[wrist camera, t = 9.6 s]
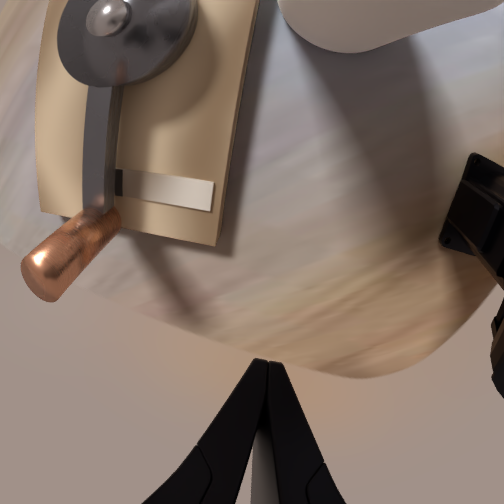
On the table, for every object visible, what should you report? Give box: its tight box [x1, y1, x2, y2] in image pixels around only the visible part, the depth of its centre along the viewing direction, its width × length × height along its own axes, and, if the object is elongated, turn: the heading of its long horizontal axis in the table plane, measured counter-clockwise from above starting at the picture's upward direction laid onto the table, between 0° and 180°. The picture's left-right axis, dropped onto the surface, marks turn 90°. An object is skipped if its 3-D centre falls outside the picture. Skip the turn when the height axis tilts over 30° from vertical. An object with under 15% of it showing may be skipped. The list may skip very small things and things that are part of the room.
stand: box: [35, 0, 260, 246], centre depth 14 cm, size 13×16×2 cm
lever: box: [21, 0, 198, 302], centre depth 10 cm, size 16×7×7 cm, turn 167°
